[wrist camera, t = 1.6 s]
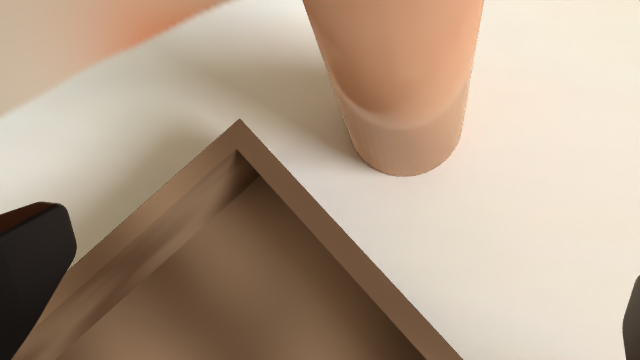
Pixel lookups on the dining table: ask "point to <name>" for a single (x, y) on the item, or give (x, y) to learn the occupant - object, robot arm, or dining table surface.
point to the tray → (230, 277)
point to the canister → (399, 75)
